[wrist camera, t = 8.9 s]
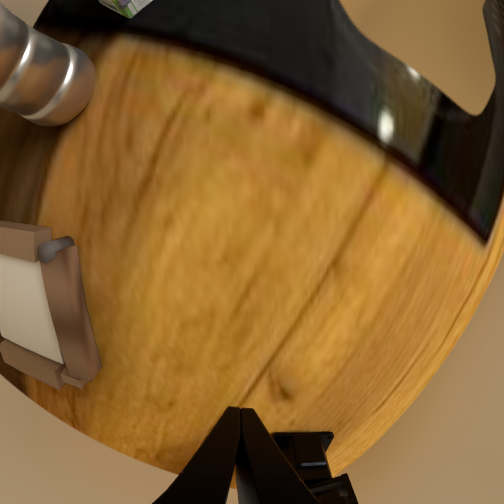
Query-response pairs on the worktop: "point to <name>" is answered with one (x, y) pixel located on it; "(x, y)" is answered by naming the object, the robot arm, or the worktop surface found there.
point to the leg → (69, 307)
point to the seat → (28, 308)
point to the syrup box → (126, 6)
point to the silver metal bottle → (41, 74)
